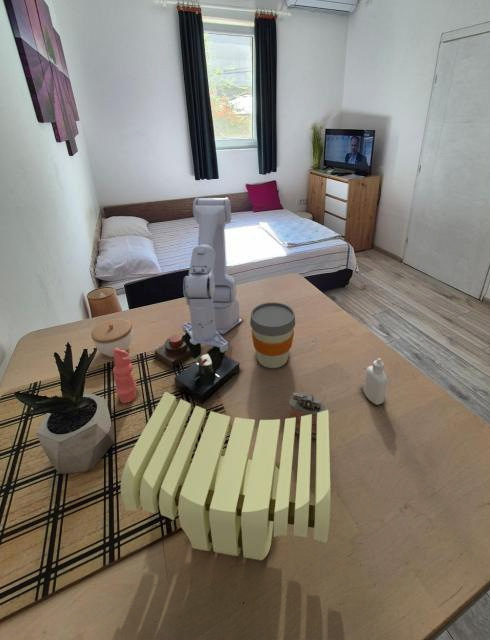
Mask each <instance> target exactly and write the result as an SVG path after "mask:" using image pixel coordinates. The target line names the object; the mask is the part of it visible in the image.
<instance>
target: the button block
mask: <svg viewBox="0 0 490 640" xmlns="http://www.w3.org/2000/svg"><path fill="white" fill-rule="evenodd" d="M179 335H181V336H184V335H185V334H184V333H180V334H179ZM190 356H192V354H191V352H190V350H189V348H188V346H187V345H186V343H185V342H184V341H183V343H182V344H181V345H180V346H177V347H172V346H171V345H170V337H168V338H167V339H166V340H165V342H164V344H163V345H161V346H160V347H158V348H157V349H155V350H154V357H155V358H157V359H158V360H160V361H161V362H163V363H165V364H166V365H167V366H169V367H170V368H172V369H174V368H175V367H177V366H178V365H180V364H181V363H182V362H184V361H185V360H187V359H188V358H189V357H190Z"/></svg>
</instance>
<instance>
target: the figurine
mask: <svg viewBox="0 0 490 640" xmlns="http://www.w3.org/2000/svg"><path fill="white" fill-rule="evenodd" d="M128 355H130V353H129V352H128V351H127V350H126V351H123V350H119V349H118V348H115V349H114V357H113V360H114V366H113V368H112V374H113V375H114V376H113V380H114V383H115V388H114V392H115V394H117V396H118V399H119V402H120V403H124V404H128V403H130V402H132V401H134V400H135V398H136V397H137V391H136V387H137V384H138V383H137V381H136V380H135V379H134V376H133V373H132V371H133V369H134V366H133V363H132V361H131V359H130V357H128Z"/></svg>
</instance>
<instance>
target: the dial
mask: <svg viewBox="0 0 490 640" xmlns="http://www.w3.org/2000/svg"><path fill="white" fill-rule="evenodd" d="M197 361H198V364H199V372H200V374H201V375H203V376H209V375H212V374H214V373H215V371H214V370H213V367H212V361H211V358H210V356H209V355H208V354H207V353H205V354H202V355H200V356H199V357H198V359H197Z"/></svg>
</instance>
